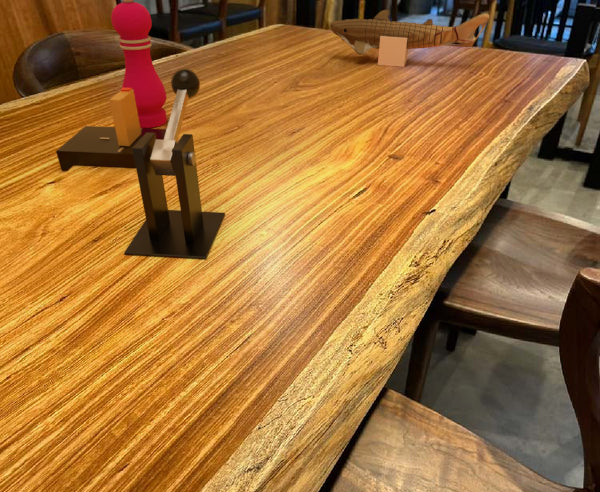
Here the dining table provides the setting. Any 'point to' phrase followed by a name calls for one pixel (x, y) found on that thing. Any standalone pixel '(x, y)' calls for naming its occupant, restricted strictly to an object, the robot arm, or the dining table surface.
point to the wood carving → (403, 35)
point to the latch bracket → (172, 223)
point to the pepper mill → (140, 62)
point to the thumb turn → (125, 116)
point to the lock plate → (100, 148)
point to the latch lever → (174, 121)
